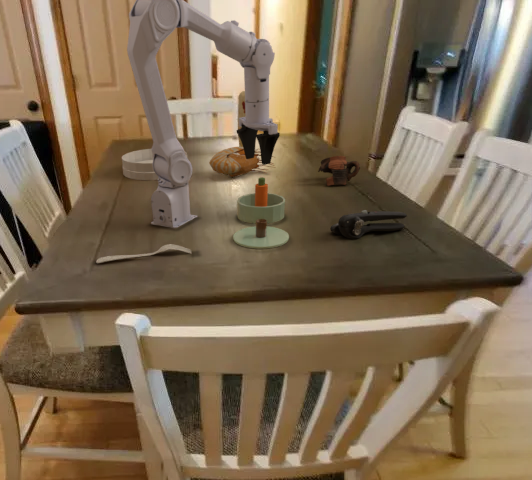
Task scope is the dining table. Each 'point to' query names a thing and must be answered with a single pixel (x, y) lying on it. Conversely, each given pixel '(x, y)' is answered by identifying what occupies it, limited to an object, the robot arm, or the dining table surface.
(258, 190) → the carrot
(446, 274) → the dining table surface
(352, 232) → the can opener
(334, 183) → the pottery mug
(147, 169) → the dish
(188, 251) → the fork
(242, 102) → the food model
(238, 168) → the nautilus
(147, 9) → the robot arm
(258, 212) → the pot
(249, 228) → the lid
